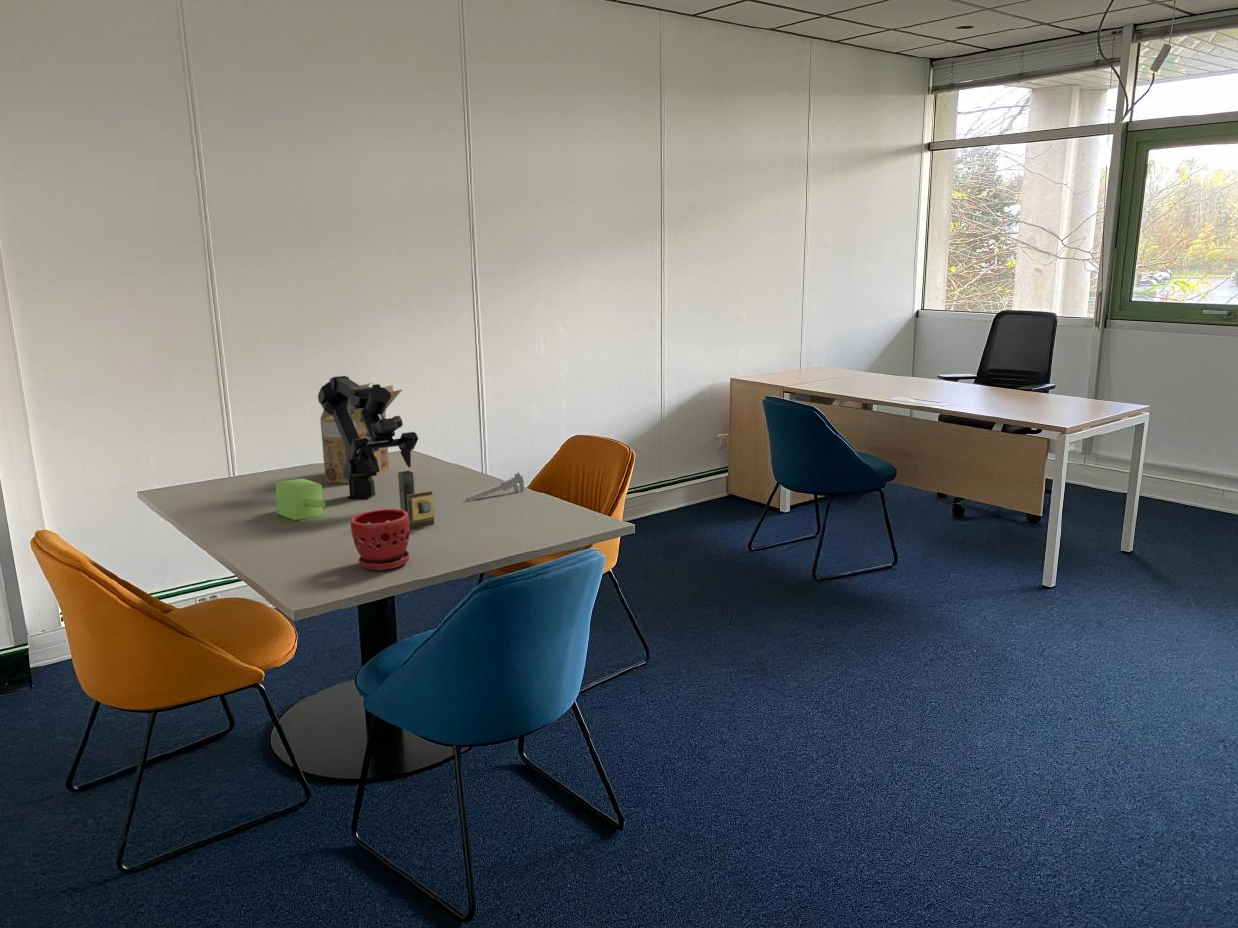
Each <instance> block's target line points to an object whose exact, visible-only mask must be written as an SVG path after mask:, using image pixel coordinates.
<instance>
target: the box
mask: <svg viewBox="0 0 1238 928" xmlns="http://www.w3.org/2000/svg"><path fill="white" fill-rule="evenodd" d="M370 385H373V382H368V383H363V384H360V386H362V387H370ZM383 388H385V389H387V390H388V391H389V392H390V393H391V398H390V401H389V404H388V406H387V409H388V407H389V406H390V405H391V404H392V403H393V402H394V400H396V398H397V397H398V396H399V394H400V393H401V392H402V391H403V389H402V388H401V389H398V390H394V386H393V385H387V386H384V387H383ZM363 409H364V408H362V409H355V408H354V407H353V406H352V405H351V404H350V399H349V401H348V404H347V410H348V412H349V414H350V417H351V419H352V421H353V424H354V426H355V428H356V430H357V433H358V435H359V437H360V439H361V438H367V439H368V442H372V441H371V439H370V437H367V435H366V434H367V429H366V427H365V425H364V422H361V421H360V418H361V415H360V414H361V411H362V410H363ZM386 411H387V410H386ZM386 411H385V412H384V413H383V414H382V415H383V417H384V419H387V415H386V413H387V412H386ZM319 420H320V431H321V441H322V442H321V443H322V454H323V467H324V477H325V482H326V481H329V482H328V483H335V482H338V483H337V484H346V483H348V484H347V485H349V479H347V478H345V477H344V474H343V469H344V466H345V464H346V458H347V454H348V451H347V449H346V446H345V444H344V442H343V439H342V437H341V435H340V432H339V430H338V428H337V425H336V423H335V421H334V418H333V416H332V415H330V414H329V413H327V412H326V411H324V409H323V411H322V413H321V415H320V419H319ZM372 451H373V453H374V456H375V457H376V458H377V461H378V466H379V469H380V471H379V472H377V474H378V475H381V474H384V473H386V472H389V471H390V461H389V460H390V459H389V447H388V448H381V449H380V448H377V449H372ZM383 472H384V473H383ZM380 473H381V474H380Z"/></svg>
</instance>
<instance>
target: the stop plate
mask: <svg viewBox="0 0 1238 928" xmlns="http://www.w3.org/2000/svg"><path fill="white" fill-rule="evenodd" d="M429 494H433V491H432V490H428V491H423V492H417V493H414V494H410V495H406V497H407V513H408V517H409V528H410V530H411V529H416V528H421V527H426V526H430V525H431V526H432V525H435V517H431V518H425V519H420V520H415V521H414V520H412V511H411V498H412V497H418V496H423V495H429ZM421 512H423V511H421V510H419V513H421Z"/></svg>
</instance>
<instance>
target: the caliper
mask: <svg viewBox="0 0 1238 928" xmlns="http://www.w3.org/2000/svg"><path fill="white" fill-rule="evenodd" d="M518 484H519V487H518ZM511 488H513V489H514V491H515V493H520V492H524V491H525V482H524V478H523V475H521V474H520V472H517V473H514V477H511V478H508V479H506V480H503V481H501V483H499V484H497V485H494V486H492V487H489V488H487V489H484V490H481V491H478V492H476V493H474V494H471V495H468V496H466V498H465V499H463V500H462V501H463V503H467V502H473V500H474V501H475V500H476V501H477V500H478V499H480V498H483V497H486V496H489V495H491V494H493V493H497V492H499V491H501V490H503V491H507V490H510V489H511ZM519 488H520V491H519Z"/></svg>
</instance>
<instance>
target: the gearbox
mask: <svg viewBox="0 0 1238 928" xmlns="http://www.w3.org/2000/svg"><path fill="white" fill-rule="evenodd" d="M275 503H276V504H275V505H276V506H275V508H276V514H278V515H280V516H282V517H285V518H287V519H290V520H294V521H299V520H306V519H312V518H315V517H320V516H323V514H324V513H323V508H325V506H326V501H325V499H323V486H322V484H320V483H317V482H315V481H312V480H310V479H309V480H308V479H305V478H297V479H287V480H280V481H276V482H275Z"/></svg>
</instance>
